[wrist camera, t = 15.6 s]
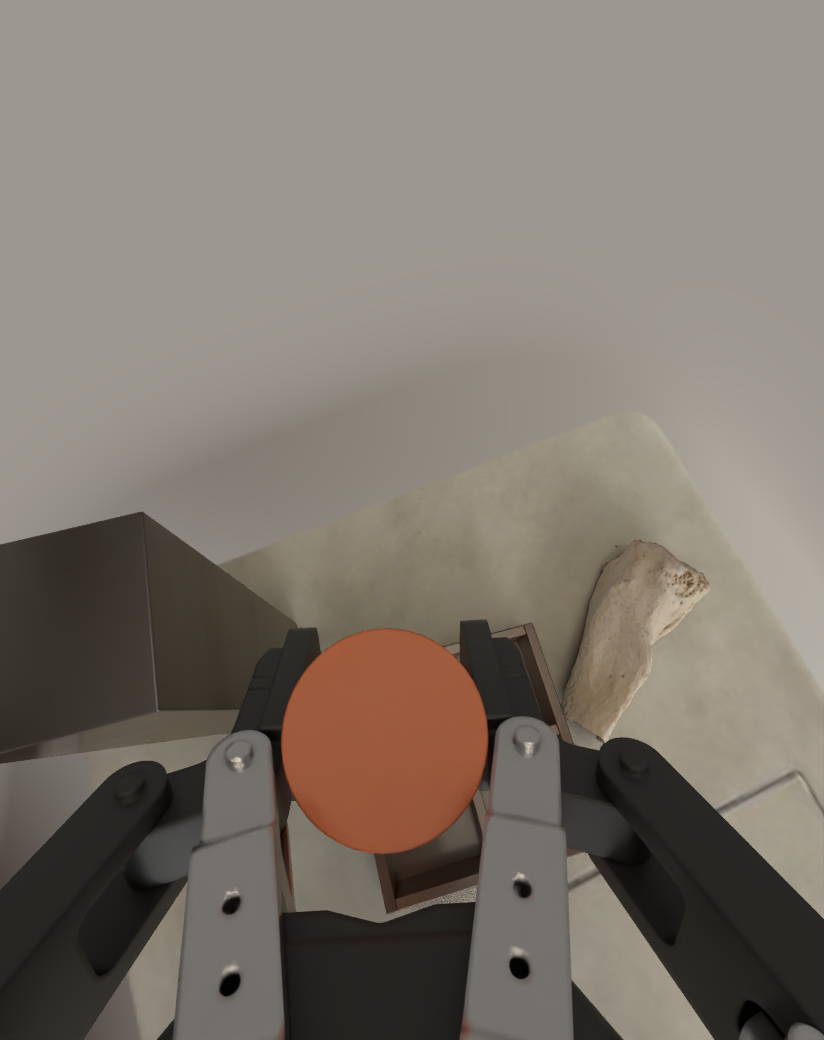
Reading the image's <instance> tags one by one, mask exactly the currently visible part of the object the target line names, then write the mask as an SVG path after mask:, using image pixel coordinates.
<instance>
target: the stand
mask: <svg viewBox="0 0 824 1040" xmlns="http://www.w3.org/2000/svg"><path fill="white" fill-rule="evenodd" d="M289 629H297V626H296V623H295V622H294V621H292V620H291V619H289V618H288V617H287V616H285V615H284V614H283V613H281V612H280V611H278V610H277V609H276V608H274V607H273V606H272V605H270V604H269V603H267V602H266V601H265V600H263V599H262V598H261V597H259V596H258V595H256V594H255V593H254V592H252V591H251V590H250V589H248V588H247V587H245V586H244V585H243V584H241V583H240V582H239V581H237V580H236V579H235V578H233V577H232V576H230V575H229V574H228V573H226V572H225V571H224V570H222V569H221V568H219V567H218V566H217V565H215V564H214V563H212V562H211V561H210V560H208V559H207V558H206V557H204V556H203V555H201V554H200V553H199V552H197V551H196V550H195V549H193V548H192V547H191V546H189V545H188V544H186V543H185V542H184V541H182V540H181V539H179V538H178V537H177V536H175V535H174V534H173V533H171V532H170V531H169V530H167V529H166V528H164V527H163V526H162V525H160V524H159V523H158V522H156V521H155V520H153V519H152V518H151V517H149V516H148V515H146V514H145V513H144V512H138V513H134V514H129V515H125V516H121V517H117V518H113V519H108V520H104V521H99V522H95V523H91V524H87V525H82V526H78V527H74V528H69V529H66V530H61V531H57V532H52V533H48V534H44V535H40V536H35V537H31V538H27V539H23V540H18V541H14V542H10V543H6V544H1V545H0V764H1V763H8V762H15V761H23V760H30V759H38V758H45V757H53V756H60V755H68V754H75V753H82V752H90V751H97V750H105V749H112V748H120V747H127V746H135V745H142V744H150V743H157V742H164V741H172V740H179V739H187V738H194V737H202V736H209V735H217V734H224V733H228V732H231V731H232V730H233V727H234V725H235V722H236V719H237V716H238V714H239V711H240V708H241V705H242V703H243V700H244V697H245V695H246V692H247V691H248V686H249V684H250V681H251V679H252V675H253V673H254V670H255V667H256V665H257V662H258V660H259V659H260V658H261V657H262V656H263V655H264V654H265V653H266V652H267V651H268V650H269V649H270V648H283V646H284V642H285V639H286V636H287V633H288V630H289Z"/></svg>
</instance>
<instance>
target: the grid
mask: <svg viewBox="0 0 824 1040" xmlns="http://www.w3.org/2000/svg"><path fill="white" fill-rule="evenodd" d="M491 636H492V638H498V637H507V638H508V639H509V640H510V641H511V642H512V643H513V644H514V645H515V646H516V647H517V648H518V649H519V651H520V654H521V657H522V660H523V664H524V666H525V669H526V672H527V676H528V677H529V680H530V683H531V686H532V689H533V692H534V695H535V698H536V701H537V704H538V707H539V709H540V712H541V715H542V718H543V721H544V723H545V724H547V725H548V726H549V727H550V728H552V730H553V731H554V732H555V734H556V735H557V737H558V738H560V739H562V740H563V741H565V742H568V743H570V744H573V745H574V743H573V740H572V737H571V734H570V731H569V728H568V726H567V723H566V720H565V717H564V714H563V711H562V708H561V705H560V702H559V699H558V696H557V693H556V690H555V688H554V685H553V682H552V679H551V676H550V673H549V670H548V667H547V664H546V661H545V658H544V655H543V653H542V650H541V647H540V644H539V641H538V638H537V635H536V632H535V629H534V626H533V623H529V624H525V625H521V626H518V627H514V628H510V629H506V630H503V631H499V632H495V633H492V634H491ZM444 648H445V649H447V650H448V651H449V652H450V653H451V654H452V655H453V656H454V657H456V658H457V660H458V661H459V662H460V642H458V643H455V644H451V645H447V646H444ZM488 801H489V791H479V789H477V792H476V793H475V795H474V797H473V799H472V801H471V802H470V804H469V806H468V807H467V808H466V810H465V811H464V812H463V814H462V815H461V816H460V818H459V819H458V820H457V821H456V822H455V823H454V824H453V825H452V826H451V827H450V828H449V829H447V830H446V831H445V832H443V833H442V834H441V835H439V836H438V837H437V838H435V839H433V840H431V841H430V842H428V843H426V844H424V845H421V846H419V847H416V848H414V849H411V850H407V851H402V852H398V853H386V854H379V853H374V854H375V859H376V864H377V869H378V874H379V879H380V884H381V889H382V894H383V899H384V904H385V909H386V913H387V914H390V913H394V912H396V911H397V910H398V911H400V910H403V909H406V908H409V907H413V906H416V905H419V904H422V903H425V902H428V901H432V900H435V899H438V898H441V897H444V896H447V895H451V894H454V893H457V892H460V891H463V890H466V889H470V888H473V887H476V886H478V877H479V868H480V859H481V850H482V841H483V832H484V824H485V816H486V811H487V809H488ZM581 853H584V852H582V851H578V850H575V849H571V848H568V847H566V854H567V858H568V857H571V856H575V855H578V854H581Z"/></svg>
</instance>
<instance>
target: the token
mask: <svg viewBox="0 0 824 1040" xmlns="http://www.w3.org/2000/svg"><path fill="white" fill-rule="evenodd" d="M281 751H282V762H283V766H284V771H285V775H286V779H287V781H288V784H289V787H290V790H291V792H292V794H293V796H294V798H295V800H296V802H297V804H298V805H299V807H300V808H301V810H302V811H303V812H304V814H305V815H306V817H307V818H308V819H309V820H310V821H311V822H312V823H313V824H314V825H315V826H316V827H317V828H318V829H319V830H320V831H322V832H323V833H324V834H325V835H327V836H328V837H330V838H331V839H333V840H335V841H336V842H338V843H340V844H342V845H345V846H347V847H349V848H352V849H355V850H359V851H363V852H367V853H379V854H386V853H398V852H402V851H407V850H411V849H414V848H416V847H419V846H421V845H424V844H426V843H428V842H430V841H431V840H433V839H435V838H437V837H438V836H439V835H441V834H442V833H443V832H445V831H446V830H447V829H449V828H450V827H451V826H452V825H453V824H454V823H455V822H456V821H457V820H458V819H459V818H460V816H461V815H462V814H463V812H464V811H465V810H466V808H467V807H468V806H469V804H470V802H471V801H472V799H473V797H474V795H475V793H476V792H477V789H478V787H479V784H480V782H481V779H482V776H483V773H484V769H485V765H486V760H487V752H488V726H487V718H486V714H485V709H484V705H483V702H482V699H481V697H480V694H479V691H478V689H477V687H476V685H475V683H474V681H473V679H472V678H471V676H470V675H469V673H468V672H467V670H466V669H465V668H464V666H463V665H462V664H461V663H460V662H459V661H458V660H457V658H456V657H454V656H453V655H452V654H451V653H450V652H449V651H448V650H447V649H445V648H444V647H442V646H441V645H439V644H438V643H436V642H435V641H433V640H431V639H429V638H427V637H425V636H422V635H419V634H417V633H414V632H410V631H405V630H400V629H373V630H368V631H363V632H360V633H357V634H354V635H351V636H348V637H346V638H344V639H342V640H340V641H338V642H337V643H335V644H334V645H332V646H330V647H329V648H327V649H326V650H325V651H324V652H323V653H321V654H320V655H319V656H318V657H317V658H316V659H315V660H314V661H313V662H312V663H311V664H310V665H309V666H308V668H307V669H306V670H305V672H304V673H303V675H302V676H301V677H300V679H299V681H298V682H297V684H296V686H295V688H294V690H293V692H292V694H291V697H290V699H289V702H288V704H287V708H286V711H285V715H284V719H283V726H282V735H281Z"/></svg>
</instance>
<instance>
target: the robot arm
mask: <svg viewBox="0 0 824 1040" xmlns="http://www.w3.org/2000/svg"><path fill="white" fill-rule="evenodd" d="M320 654H321V651H320V644H319V637H318V631H317V628H298V629H289V630H288V633H287V636H286V639H285V642H284V646H283V648H270V649H269V650H268V651H267V652H266V653H265V654H264V655H263V656H262V657H261V658H260V659H259V660H258V662H257V665H256V667H255V670H254V673H253V675H252V679H251V681H250V684H249V686H248V691H247V692H246V695H245V697H244V700H243V703H242V705H241V708H240V711H239V714H238V716H237V719H236V722H235V725H234V727H233V730H232V733H231V735H229V736H227V737H225V738H224V739H222V740H221V741H220V742H218V743H217V744H216V745H215V746H214V748H213V749H212V750H211V752H210V753H209V755H208V758H207V760H205V761H203V762H201V763H199V764H196V765H194V766H191V767H188V768H185V769H181V770H178V771H175V772H172V773H169V774H167V773H166V770H165V768H164V767H163V766H162V765H161V764H159V763H157V762H154V761H140V762H136V763H132V764H130V765H127V766H125V767H123V768H121V769H119V770H118V771H116V772H115V773H113V774H112V775H111V776H109V777H108V778H107V779H106V780H105V781H104V782H103V783H102V784H101V785H100V786H99V787H98V788H97V789H96V790H95V792H94V793H93V794H92V795H91V796H90V797H89V798H88V799H87V800H86V801H85V802H84V803H83V804H82V805H81V806H80V808H78V810H77V811H75V812H74V814H73V815H72V816H71V817H70V818H69V819H68V820H67V821H66V822H65V823H64V824H63V825H62V826H61V827H60V828H59V829H58V830H57V831H56V832H55V834H54V835H53V836H52V837H51V838H50V839H49V840H48V841H47V842H46V843H45V844H44V845H43V846H42V847H41V848H40V849H39V850H38V851H37V852H36V853H35V854H34V855H33V856H32V858H31V859H30V860H29V861H28V862H27V863H26V864H25V865H24V866H23V867H22V868H21V869H20V870H19V871H18V872H17V873H16V875H14V876H13V877H12V879H11V880H10V881H9V882H8V883H7V884H6V885H5V886H4V887H3V888H2V889H1V890H0V1040H83V1039H84V1038H85V1036H86V1035H87V1033H88V1032H89V1030H90V1029H91V1027H92V1025H93V1024H94V1022H95V1021H96V1019H97V1018H98V1016H99V1015H100V1013H101V1012H102V1010H103V1009H104V1007H105V1006H106V1004H107V1003H108V1001H109V1000H110V998H111V997H112V995H113V994H114V992H115V990H116V989H117V987H118V986H119V984H120V983H121V981H122V980H123V978H124V977H125V975H126V974H127V972H128V971H129V969H130V968H131V966H132V965H133V963H134V962H135V960H136V959H137V957H138V956H139V954H140V952H141V951H142V949H143V948H144V946H145V945H146V943H147V942H148V940H149V939H150V937H151V936H152V934H153V933H154V931H155V930H156V928H157V927H158V925H159V924H160V922H161V921H162V919H163V917H164V916H165V914H166V913H167V911H168V910H169V908H170V907H171V905H172V904H173V902H174V901H175V899H176V898H177V896H178V895H179V893H180V892H181V890H182V889H183V887H184V886H185V884H186V882H187V881H188V883H187V894H186V905H185V915H184V926H183V936H182V947H181V957H180V968H179V979H178V989H177V1000H176V1010H175V1018H174V1020H173V1021H172V1022H171V1023H170V1024H169V1026H168V1027H167V1028H166V1029H165V1030H164V1032H163V1033H162V1034H161V1035H160V1036H159V1038H158V1039H157V1040H623V1039H622V1038H621V1036H620V1035H619V1034H618V1033H617V1032H616V1031H615V1029H614V1028H613V1027H612V1026H611V1025H610V1024H609V1023H608V1021H607V1020H606V1019H605V1018H604V1017H603V1016H602V1014H601V1013H600V1012H599V1011H598V1010H597V1009H596V1008H595V1006H594V1005H593V1004H592V1003H591V1002H590V1001H589V999H588V998H587V997H586V996H585V995H584V994H583V992H582V991H581V990H580V989H579V988H578V987H577V986H576V984H575V983H574V982H573V981H572V980H571V959H570V933H569V907H568V880H567V854H566V847H568V848H571V849H575V850H578V851H582V852H585V853H588V855H589V857H590V858H591V860H592V861H593V863H594V864H595V866H596V867H597V869H598V870H599V872H600V873H601V875H602V876H603V877H604V879H605V880H606V882H607V883H608V885H609V886H610V888H611V889H612V891H613V892H614V894H615V895H616V896H617V898H618V899H619V901H620V902H621V904H622V905H623V907H624V908H625V910H626V911H627V913H628V914H629V915H630V917H631V918H632V920H633V921H634V923H635V924H636V926H637V927H638V929H639V930H640V932H641V933H642V934H643V936H644V937H645V939H646V940H647V942H648V943H649V945H650V946H651V948H652V949H653V951H654V952H655V953H656V955H657V956H658V958H659V959H660V961H661V962H662V964H663V965H664V967H665V968H666V970H667V971H668V972H669V974H670V975H671V977H672V978H673V980H674V981H675V983H676V984H677V986H678V987H679V989H680V990H681V991H682V993H683V994H684V996H685V997H686V999H687V1000H688V1002H689V1003H690V1005H691V1006H692V1008H693V1009H694V1010H695V1012H696V1013H697V1015H698V1016H699V1018H700V1019H701V1021H702V1022H703V1024H704V1025H705V1027H706V1028H707V1029H708V1031H709V1032H710V1034H711V1035H712V1037H713V1038H714V1040H824V919H823V918H822V917H821V916H820V915H819V914H818V913H817V912H816V911H815V910H814V909H813V908H812V907H811V906H810V905H809V904H808V903H807V902H806V901H805V900H804V899H803V898H802V897H801V896H800V895H799V894H798V893H797V892H796V891H795V890H794V889H793V888H792V887H791V886H790V885H789V884H788V883H787V882H786V881H785V880H784V878H783V877H782V876H781V875H780V874H779V873H778V872H777V871H776V870H775V869H774V868H773V867H772V866H771V865H770V864H769V863H768V862H767V861H766V860H765V859H764V858H763V857H762V856H761V855H760V854H759V853H758V852H757V851H756V850H755V849H754V848H753V847H752V846H751V845H750V844H749V843H748V842H747V841H746V840H745V839H744V838H743V837H742V836H741V835H740V834H739V833H738V832H737V831H736V830H735V829H734V828H733V827H732V826H731V825H730V824H729V823H728V822H727V821H726V820H725V819H724V818H723V817H722V816H721V815H720V814H719V813H718V812H717V811H716V810H715V809H714V808H713V807H712V806H711V805H710V804H709V803H708V802H707V801H706V800H705V799H704V798H703V797H702V796H701V795H700V794H699V793H698V792H697V791H696V790H695V789H694V788H693V787H692V786H691V785H690V784H689V783H688V782H687V781H686V780H685V779H684V778H683V777H682V776H681V775H680V774H679V773H678V772H677V771H676V770H675V769H674V768H673V767H672V766H671V765H670V764H669V763H668V762H667V761H666V760H665V759H664V758H663V757H662V756H661V755H660V754H659V753H658V752H657V751H656V750H655V749H654V748H652V747H651V746H649V745H647V744H645V743H643V742H641V741H639V740H635V739H632V738H622V737H621V738H614V739H611V740H609V741H607V742H605V743H604V744H603V745H602V747H601V748H600V751H598V750H594V749H589V748H585V747H580V746H576V745H573V744H570V743H568V742H565V741H563V740H562V739H560V738H558V737H557V735H556V734H555V732H554V731H553V730H552V728H550V727H549V726H548V725H547V724H545V723H544V721H543V718H542V715H541V712H540V709H539V707H538V704H537V701H536V698H535V695H534V692H533V689H532V686H531V683H530V680H529V677H528V676H527V672H526V669H525V666H524V664H523V660H522V657H521V654H520V651H519V649H518V648H517V647H516V646H515V645H514V644H513V643H512V642H511V641H510V640H509V639H508V638H507V637H498V638H492V636H491V633H490V629H489V625H488V622H487V620H469V621H460V663H461V664H462V665H463V666H464V668H465V669H466V670H467V672H468V673H469V675H470V676H471V678H472V679H473V681H474V683H475V685H476V687H477V689H478V691H479V694H480V697H481V699H482V702H483V705H484V709H485V714H486V718H487V726H488V752H487V760H486V765H485V769H484V773H483V776H482V779H481V782H480V784H479V787H478V789H479V791H489V801H488V809H487V811H486V816H485V824H484V832H483V841H482V850H481V859H480V868H479V877H478V886H477V895H476V902H468V903H451V904H435V905H432V906H429V907H426V908H423V909H421V910H418V911H415V912H412V913H410V914H407V915H404V916H401V917H398V918H396V919H393V920H390V921H387V922H384V923H375V922H371V921H367V920H363V919H359V918H355V917H351V916H347V915H343V914H339V913H335V912H331V911H327V910H326V911H308V912H296V909H295V898H294V887H293V875H292V863H291V851H290V840H289V828H288V823H287V819H288V814H289V810H290V805H291V801H296V800H295V798H294V796H293V794H292V792H291V790H290V787H289V784H288V781H287V779H286V775H285V771H284V766H283V762H282V751H281V735H282V726H283V719H284V715H285V711H286V708H287V704H288V702H289V699H290V697H291V694H292V692H293V690H294V688H295V686H296V684H297V682H298V681H299V679H300V677H301V676H302V675H303V673H304V672H305V670H306V669H307V668H308V666H309V665H310V664H311V663H312V662H313V661H314V660H315V659H316V658H317V657H318V656H319V655H320Z"/></svg>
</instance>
